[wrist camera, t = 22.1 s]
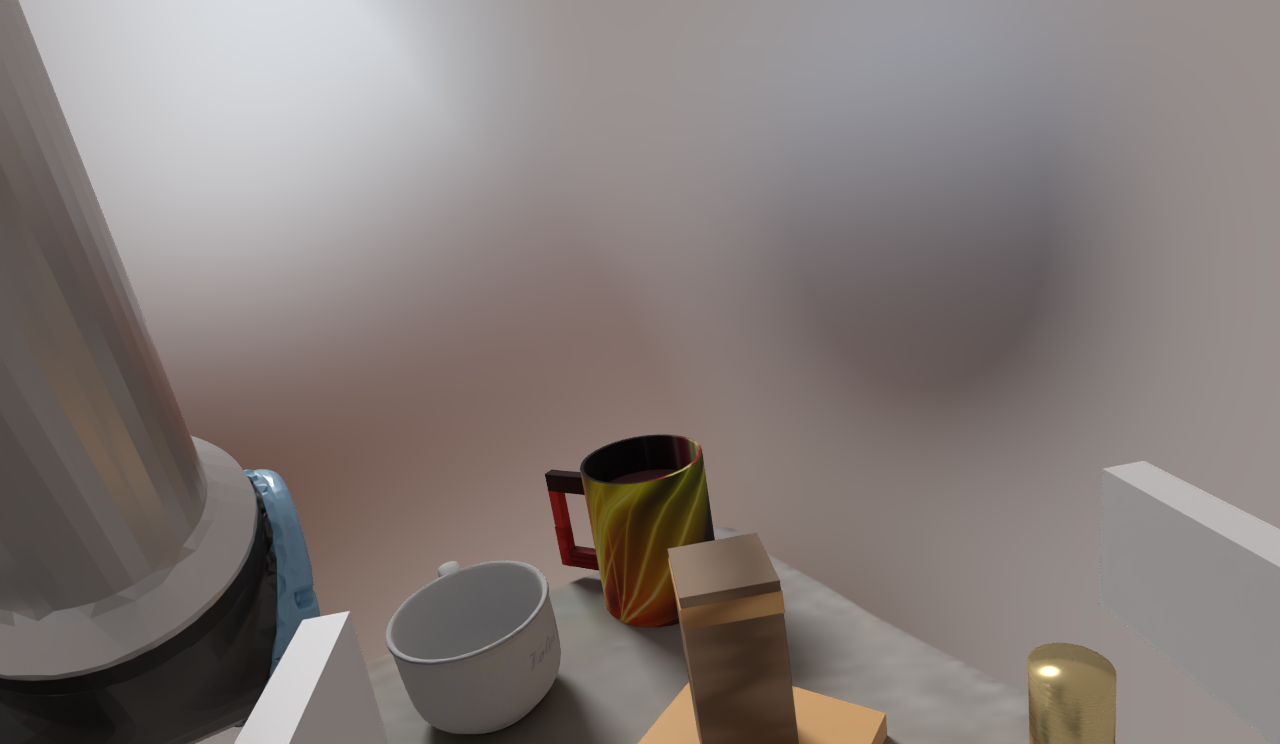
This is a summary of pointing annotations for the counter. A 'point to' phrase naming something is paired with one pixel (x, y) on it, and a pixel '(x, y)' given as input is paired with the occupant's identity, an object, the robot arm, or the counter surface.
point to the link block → (734, 641)
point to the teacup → (477, 645)
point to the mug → (636, 520)
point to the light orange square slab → (827, 727)
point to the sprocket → (1071, 696)
